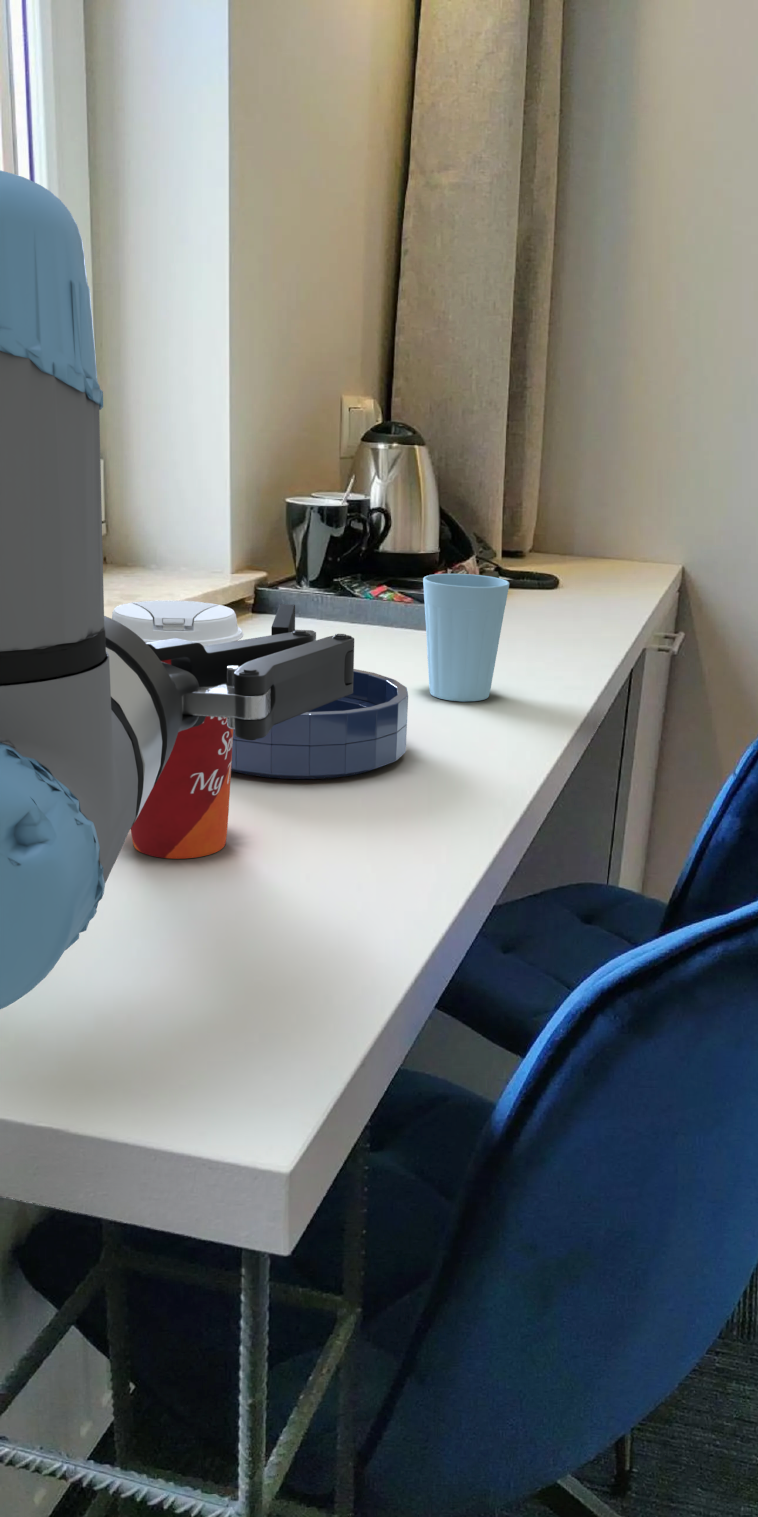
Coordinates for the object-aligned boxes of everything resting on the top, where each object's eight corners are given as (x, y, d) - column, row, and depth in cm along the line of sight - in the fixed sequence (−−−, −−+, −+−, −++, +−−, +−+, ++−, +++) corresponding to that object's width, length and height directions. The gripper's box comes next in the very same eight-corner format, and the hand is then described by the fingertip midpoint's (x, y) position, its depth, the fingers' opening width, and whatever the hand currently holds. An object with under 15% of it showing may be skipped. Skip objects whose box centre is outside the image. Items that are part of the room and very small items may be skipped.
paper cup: (245, 864, 75) (245, 623, 70) (109, 866, 74) (99, 620, 69) (242, 821, 82) (241, 599, 77) (118, 821, 81) (109, 596, 76)
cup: (416, 702, 115) (423, 583, 111) (417, 683, 122) (423, 571, 118) (502, 707, 115) (511, 588, 111) (497, 687, 122) (506, 576, 118)
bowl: (170, 779, 90) (168, 709, 88) (197, 720, 105) (197, 659, 103) (408, 787, 91) (411, 718, 89) (401, 727, 106) (404, 667, 104)
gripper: (-312, 829, 44) (-104, 692, 64) (415, 849, 46) (398, 709, 66) (-349, 609, 42) (-120, 536, 61) (425, 638, 43) (404, 559, 63)
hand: (148, 626), depth 64 cm, fingers open, 13 cm apart
